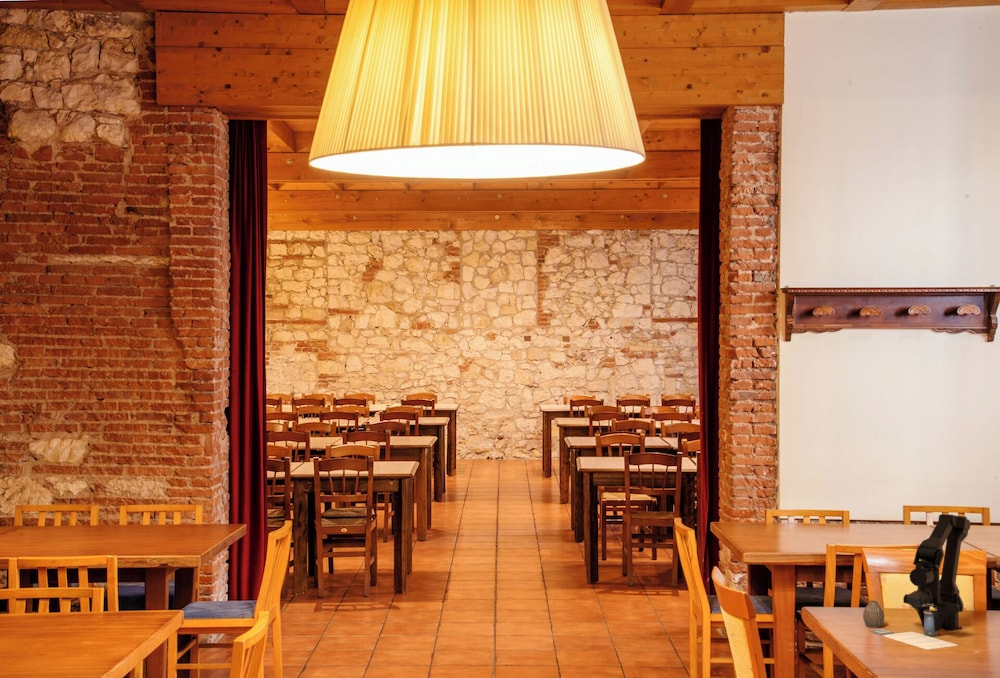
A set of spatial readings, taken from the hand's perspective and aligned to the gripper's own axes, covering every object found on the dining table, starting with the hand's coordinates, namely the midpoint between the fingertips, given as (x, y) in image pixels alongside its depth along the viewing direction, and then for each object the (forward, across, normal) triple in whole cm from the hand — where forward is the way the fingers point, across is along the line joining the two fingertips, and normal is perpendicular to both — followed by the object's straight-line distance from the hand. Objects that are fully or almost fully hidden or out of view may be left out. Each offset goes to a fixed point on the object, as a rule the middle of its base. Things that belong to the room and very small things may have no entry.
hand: (930, 629), depth 347 cm
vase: (+2, -17, -8) cm, 19 cm away
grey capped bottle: (+2, 0, 0) cm, 2 cm away
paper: (+2, +4, -9) cm, 10 cm away
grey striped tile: (+2, -9, -12) cm, 16 cm away
